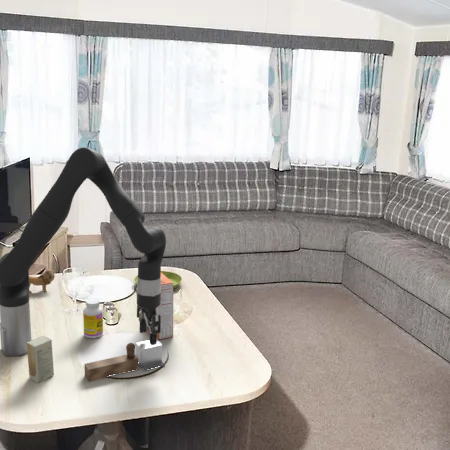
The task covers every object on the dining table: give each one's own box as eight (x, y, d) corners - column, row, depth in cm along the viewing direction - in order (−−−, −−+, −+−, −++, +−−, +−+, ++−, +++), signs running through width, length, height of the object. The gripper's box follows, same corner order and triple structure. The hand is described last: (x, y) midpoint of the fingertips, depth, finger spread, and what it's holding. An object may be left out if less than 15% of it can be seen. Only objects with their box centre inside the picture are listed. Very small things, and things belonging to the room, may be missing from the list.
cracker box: (144, 324, 218) (144, 271, 213) (159, 322, 221) (159, 269, 216) (157, 340, 206) (158, 284, 201) (173, 337, 209) (174, 282, 204)
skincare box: (46, 370, 184) (44, 334, 181) (54, 375, 181) (52, 339, 178) (28, 378, 179) (25, 341, 176) (36, 383, 177) (34, 346, 173)
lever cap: (141, 366, 187) (141, 347, 186) (136, 359, 192) (135, 341, 190) (162, 361, 191) (162, 343, 189) (156, 355, 195) (156, 336, 193)
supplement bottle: (98, 340, 205) (97, 306, 202) (80, 337, 206) (79, 303, 203) (106, 332, 212) (105, 298, 208) (88, 329, 213) (87, 296, 209)
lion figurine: (54, 287, 251) (54, 267, 248) (55, 292, 246) (54, 271, 244) (18, 290, 246) (17, 270, 244) (18, 295, 241) (17, 274, 239)
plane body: (88, 381, 179) (87, 355, 176) (84, 375, 182) (83, 350, 180) (138, 369, 186) (138, 344, 184) (133, 364, 190) (133, 339, 187)
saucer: (164, 274, 272) (164, 267, 271) (191, 287, 256) (191, 281, 256) (125, 283, 259) (125, 276, 258) (150, 298, 244) (150, 291, 243)
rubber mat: (144, 370, 186) (144, 369, 186) (134, 358, 193) (134, 356, 193) (164, 366, 189) (164, 364, 189) (153, 354, 197) (153, 352, 197)
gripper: (129, 284, 188) (129, 330, 193) (146, 300, 176) (145, 349, 181) (151, 281, 192) (150, 327, 196) (169, 296, 180) (167, 345, 184)
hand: (148, 337), depth 188 cm, fingers open, 8 cm apart
